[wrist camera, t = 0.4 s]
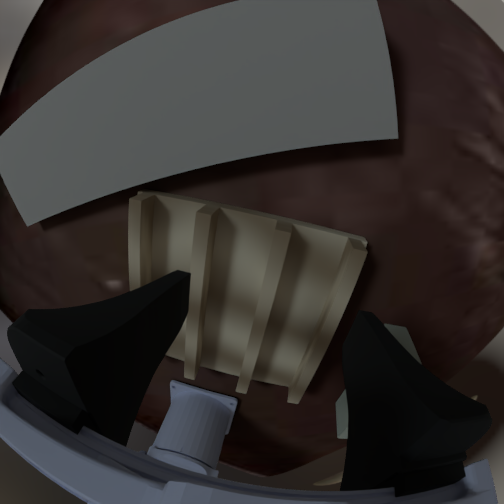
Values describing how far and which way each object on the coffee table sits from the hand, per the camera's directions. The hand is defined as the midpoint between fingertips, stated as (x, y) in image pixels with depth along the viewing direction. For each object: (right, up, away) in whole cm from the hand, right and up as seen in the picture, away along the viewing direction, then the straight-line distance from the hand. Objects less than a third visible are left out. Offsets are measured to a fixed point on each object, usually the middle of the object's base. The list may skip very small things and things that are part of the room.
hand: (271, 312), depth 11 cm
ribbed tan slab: (-2, -2, +12) cm, 12 cm away
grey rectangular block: (-9, +13, +7) cm, 17 cm away
